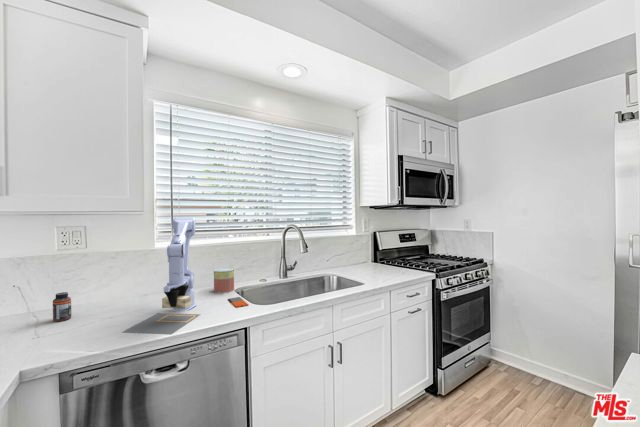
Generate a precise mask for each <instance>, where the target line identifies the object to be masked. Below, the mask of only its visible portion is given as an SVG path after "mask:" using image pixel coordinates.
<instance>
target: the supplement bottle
mask: <svg viewBox="0 0 640 427" xmlns="http://www.w3.org/2000/svg"><path fill="white" fill-rule="evenodd" d="M71 318H72V297H70V296H69V292H68V291H64V292H63V291H61V292H57V293H56V294H55V297H54V299H53V300H52V320H53V322H57V323H58V322H60V323H61V322H64V321H68V320H70V319H71Z"/></svg>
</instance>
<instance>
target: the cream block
mask: <svg viewBox="0 0 640 427" xmlns="http://www.w3.org/2000/svg"><path fill="white" fill-rule="evenodd" d="M189 306H191V296H177V305H176V307H171V306H170V303H169V300H168V298H167V296H165V297H162V299H161V308H162V309H173V308H174V309H186V308H187V307H189Z"/></svg>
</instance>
